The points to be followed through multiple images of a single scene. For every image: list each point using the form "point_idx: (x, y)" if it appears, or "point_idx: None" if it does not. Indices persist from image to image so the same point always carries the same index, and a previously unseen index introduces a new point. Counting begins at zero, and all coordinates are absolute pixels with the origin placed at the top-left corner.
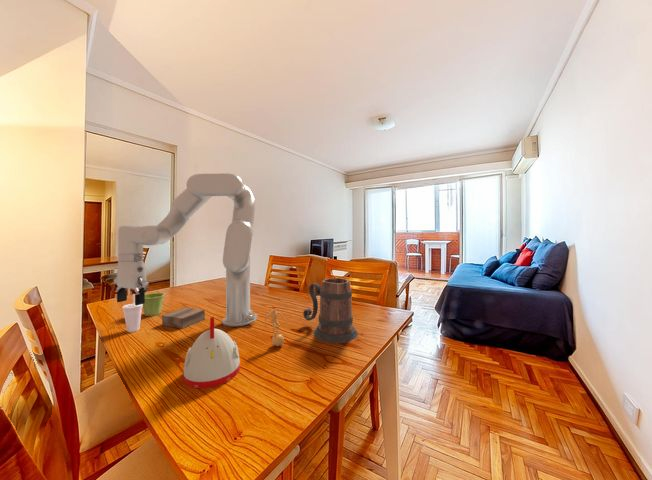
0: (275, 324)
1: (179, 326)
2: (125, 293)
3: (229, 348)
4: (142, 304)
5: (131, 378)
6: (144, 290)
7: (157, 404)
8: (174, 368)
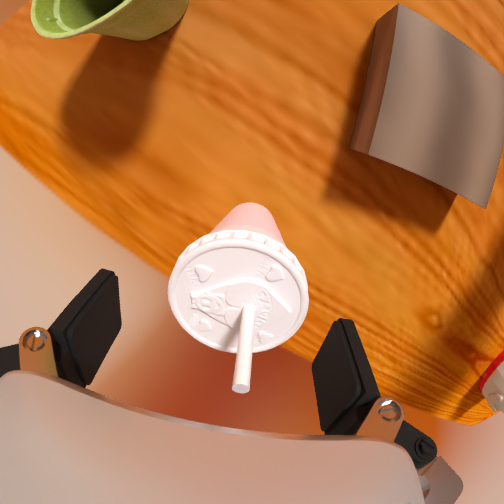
0: None
1: (448, 189)
2: (85, 326)
3: None
4: (299, 274)
5: (419, 405)
6: (405, 440)
7: (456, 412)
8: (469, 374)
